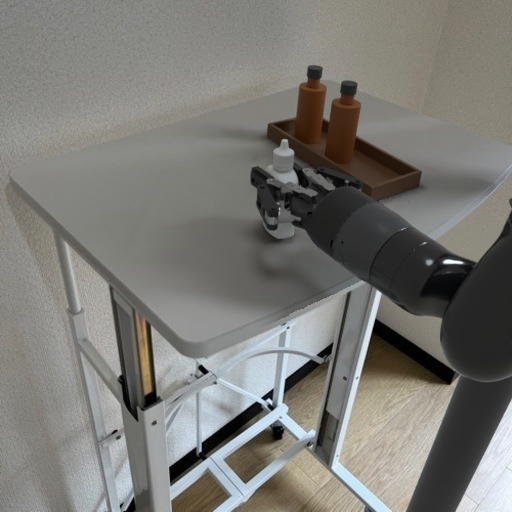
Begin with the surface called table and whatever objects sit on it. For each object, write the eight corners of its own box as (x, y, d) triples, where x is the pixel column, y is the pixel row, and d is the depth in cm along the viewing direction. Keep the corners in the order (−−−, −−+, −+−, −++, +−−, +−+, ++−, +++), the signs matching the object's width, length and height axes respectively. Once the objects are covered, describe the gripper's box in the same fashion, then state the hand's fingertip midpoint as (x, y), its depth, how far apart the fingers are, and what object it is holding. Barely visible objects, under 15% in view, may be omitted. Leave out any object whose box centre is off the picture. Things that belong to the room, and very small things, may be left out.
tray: (313, 126, 99) (314, 112, 97) (418, 186, 83) (422, 171, 81) (266, 137, 94) (267, 123, 93) (369, 203, 78) (372, 187, 76)
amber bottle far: (309, 131, 96) (317, 61, 89) (325, 140, 93) (335, 69, 86) (288, 136, 94) (295, 65, 86) (304, 146, 91) (313, 73, 84)
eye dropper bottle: (296, 218, 72) (305, 132, 65) (292, 242, 68) (301, 152, 61) (263, 214, 73) (269, 128, 66) (257, 238, 68) (262, 148, 61)
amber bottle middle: (339, 149, 90) (350, 76, 83) (357, 159, 88) (370, 85, 81) (318, 154, 88) (328, 80, 81) (336, 165, 85) (348, 89, 78)
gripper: (418, 187, 58) (315, 129, 69) (314, 225, 51) (218, 154, 62) (404, 246, 62) (309, 182, 73) (306, 287, 55) (218, 210, 67)
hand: (268, 169), depth 68 cm, fingers closed on eye dropper bottle, 3 cm apart
